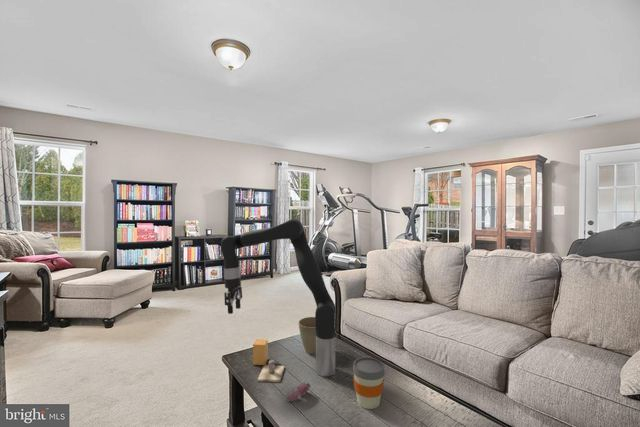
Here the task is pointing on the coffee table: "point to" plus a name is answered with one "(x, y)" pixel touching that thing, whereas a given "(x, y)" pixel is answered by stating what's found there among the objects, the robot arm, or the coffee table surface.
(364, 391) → the reusable coffee cup
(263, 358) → the tall orange pillar
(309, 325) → the plant pot
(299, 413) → the coffee table surface
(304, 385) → the video game controller
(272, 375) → the flat beige base block
